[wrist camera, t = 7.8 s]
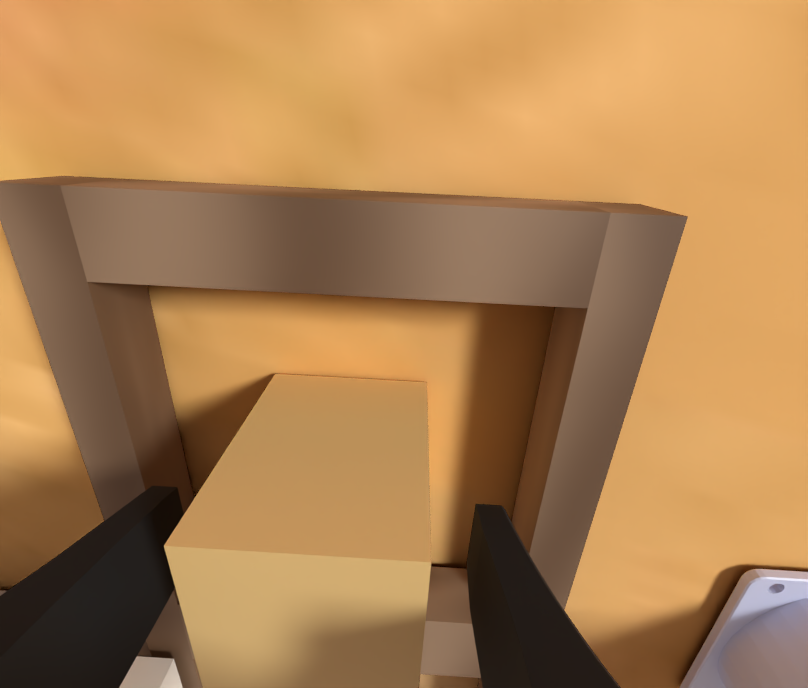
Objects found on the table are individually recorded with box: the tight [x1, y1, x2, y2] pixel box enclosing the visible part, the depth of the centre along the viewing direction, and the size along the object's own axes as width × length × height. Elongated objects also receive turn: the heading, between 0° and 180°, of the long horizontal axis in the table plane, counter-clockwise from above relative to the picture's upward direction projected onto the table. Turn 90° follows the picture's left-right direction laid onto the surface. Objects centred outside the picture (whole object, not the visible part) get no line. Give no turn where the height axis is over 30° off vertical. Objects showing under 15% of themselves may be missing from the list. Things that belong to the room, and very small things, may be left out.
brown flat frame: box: [0, 176, 687, 688], centre depth 16 cm, size 26×29×2 cm
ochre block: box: [164, 374, 431, 688], centre depth 11 cm, size 4×4×6 cm
